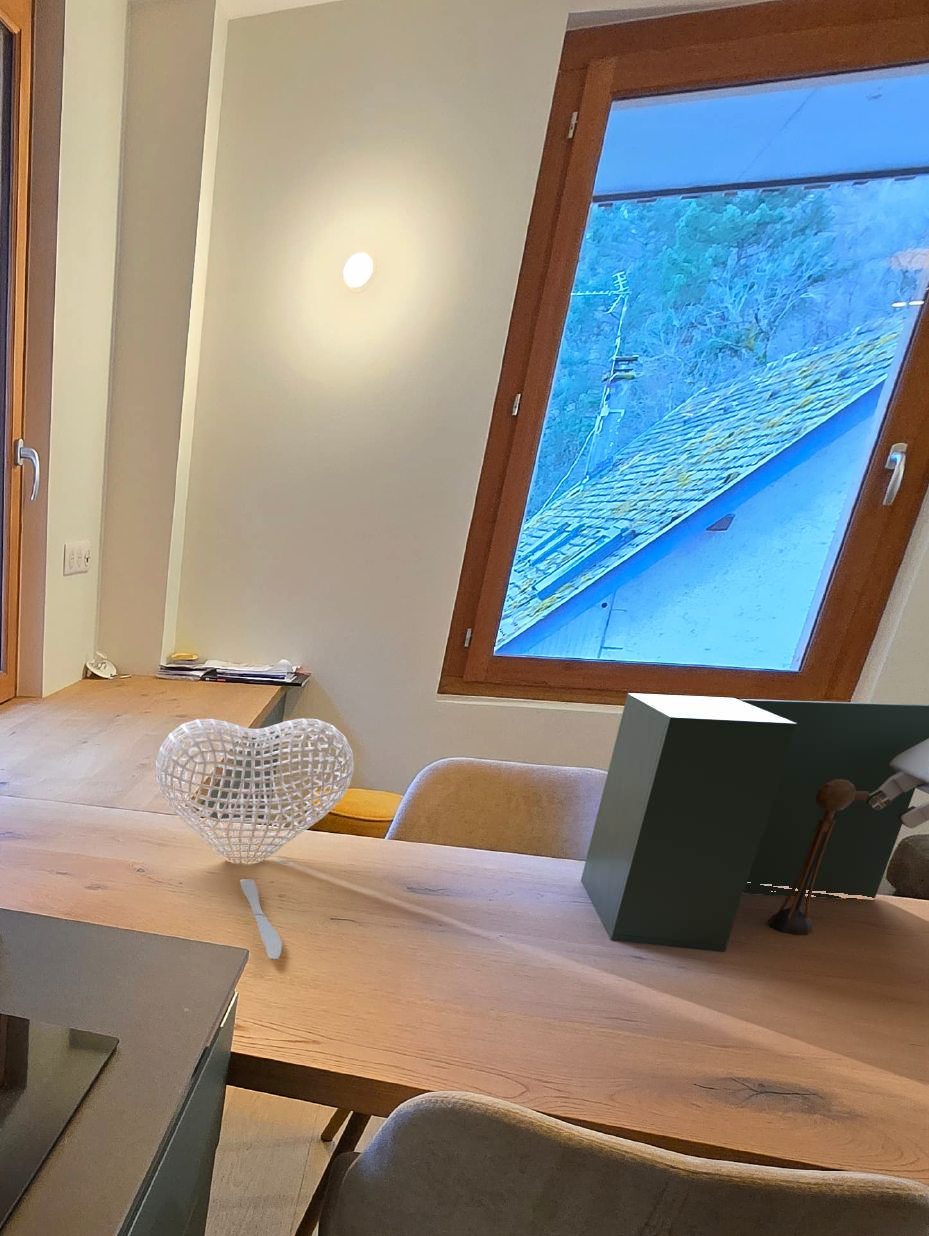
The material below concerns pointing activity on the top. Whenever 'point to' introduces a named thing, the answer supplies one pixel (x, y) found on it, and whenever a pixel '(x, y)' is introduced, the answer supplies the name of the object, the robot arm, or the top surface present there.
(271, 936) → the butter knife
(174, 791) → the heart
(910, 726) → the cupboard door
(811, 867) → the wooden tabletop sculpture
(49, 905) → the top surface
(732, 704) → the cupboard
